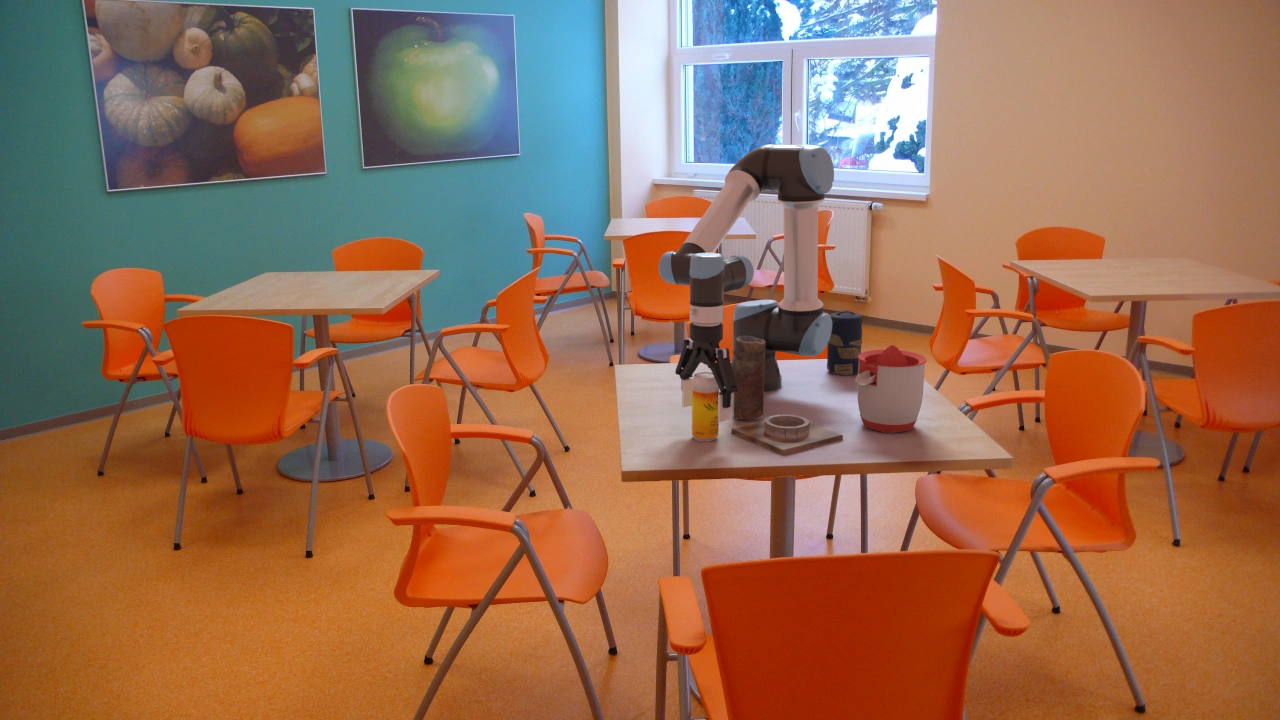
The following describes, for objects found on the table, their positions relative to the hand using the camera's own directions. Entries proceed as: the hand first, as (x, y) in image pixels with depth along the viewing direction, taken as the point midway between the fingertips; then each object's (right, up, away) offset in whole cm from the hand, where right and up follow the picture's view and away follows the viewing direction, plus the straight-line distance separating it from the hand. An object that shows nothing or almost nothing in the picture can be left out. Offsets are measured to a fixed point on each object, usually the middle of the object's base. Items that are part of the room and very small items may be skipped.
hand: (705, 413), depth 227 cm
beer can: (0, -6, +2) cm, 6 cm away
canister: (+43, +8, +56) cm, 71 cm away
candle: (+12, -2, +16) cm, 20 cm away
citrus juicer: (+43, -4, +8) cm, 44 cm away
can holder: (+19, -5, +2) cm, 20 cm away
